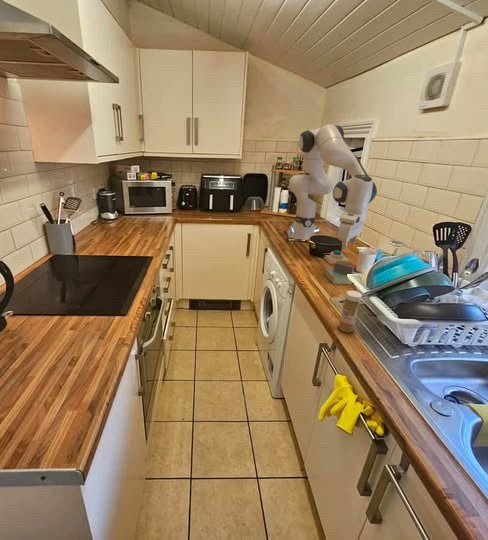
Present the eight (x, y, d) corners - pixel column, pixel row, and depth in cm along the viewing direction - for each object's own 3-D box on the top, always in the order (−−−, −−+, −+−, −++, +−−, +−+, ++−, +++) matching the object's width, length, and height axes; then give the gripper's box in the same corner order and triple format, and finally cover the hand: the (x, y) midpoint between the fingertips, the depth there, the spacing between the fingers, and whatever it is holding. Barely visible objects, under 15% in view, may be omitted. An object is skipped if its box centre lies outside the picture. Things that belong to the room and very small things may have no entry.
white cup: (374, 275, 142) (379, 255, 138) (356, 273, 143) (361, 253, 139) (369, 268, 149) (374, 250, 145) (352, 267, 150) (357, 248, 146)
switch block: (322, 257, 162) (324, 250, 161) (340, 257, 163) (342, 250, 161) (330, 264, 153) (331, 257, 152) (349, 264, 154) (350, 257, 152)
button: (332, 253, 158) (332, 250, 157) (338, 253, 158) (339, 250, 158) (335, 255, 155) (335, 252, 154) (341, 255, 155) (342, 252, 154)
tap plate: (323, 273, 142) (324, 267, 141) (348, 273, 143) (349, 267, 141) (333, 285, 131) (335, 278, 129) (361, 285, 131) (362, 278, 130)
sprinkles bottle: (336, 329, 99) (344, 293, 94) (341, 323, 103) (349, 288, 97) (350, 334, 97) (359, 298, 91) (354, 329, 100) (364, 293, 95)
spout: (333, 271, 137) (335, 262, 135) (335, 270, 139) (336, 261, 137) (350, 276, 132) (353, 267, 131) (352, 275, 134) (354, 266, 132)
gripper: (355, 210, 136) (349, 239, 142) (338, 217, 122) (332, 249, 128) (370, 212, 132) (363, 242, 138) (354, 220, 118) (346, 253, 124)
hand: (348, 246), depth 133 cm, fingers open, 8 cm apart
